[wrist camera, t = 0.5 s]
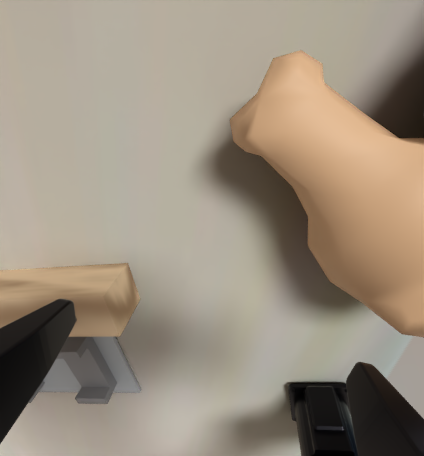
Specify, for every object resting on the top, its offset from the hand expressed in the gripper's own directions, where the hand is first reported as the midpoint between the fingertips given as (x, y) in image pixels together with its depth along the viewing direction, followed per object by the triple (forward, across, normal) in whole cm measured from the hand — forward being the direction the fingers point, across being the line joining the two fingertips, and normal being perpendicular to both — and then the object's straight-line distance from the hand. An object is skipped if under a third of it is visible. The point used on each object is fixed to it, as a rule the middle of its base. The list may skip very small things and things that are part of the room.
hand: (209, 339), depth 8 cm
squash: (+14, -8, -2) cm, 17 cm away
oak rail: (+14, +17, +14) cm, 26 cm away
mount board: (+14, +19, +26) cm, 35 cm away
